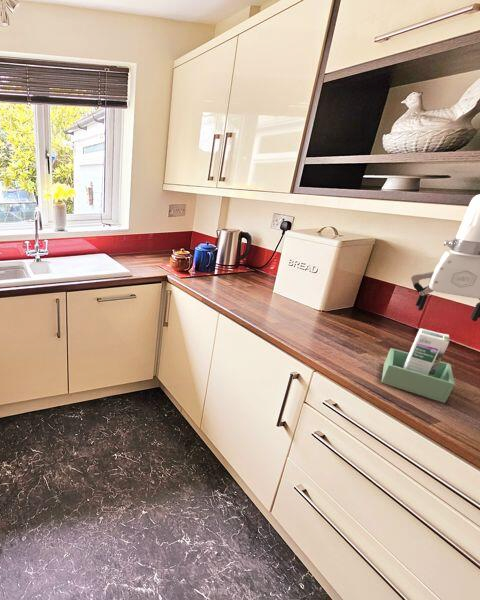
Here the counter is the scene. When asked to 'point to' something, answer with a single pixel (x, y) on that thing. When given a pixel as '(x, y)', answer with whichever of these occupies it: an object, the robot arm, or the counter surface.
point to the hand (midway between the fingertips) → (445, 314)
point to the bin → (417, 377)
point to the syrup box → (426, 352)
